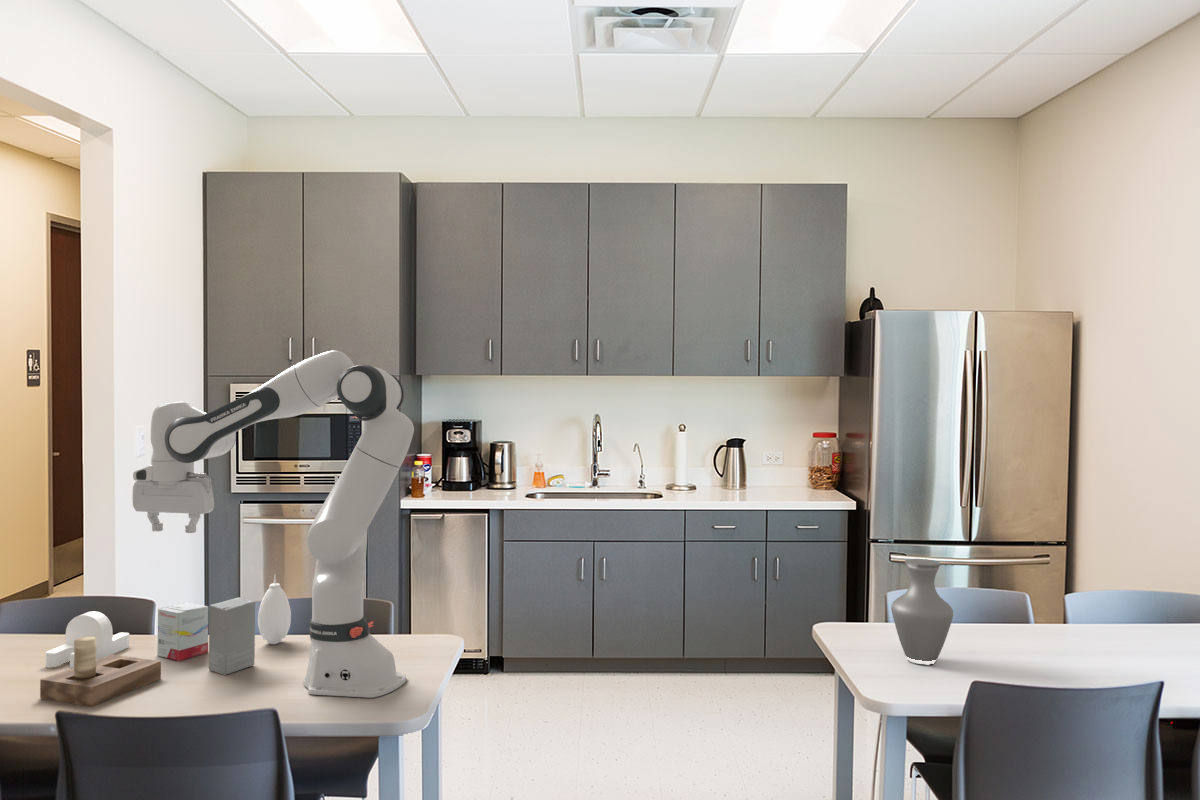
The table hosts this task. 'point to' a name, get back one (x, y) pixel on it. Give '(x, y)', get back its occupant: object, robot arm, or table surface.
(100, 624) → the white slotted holder
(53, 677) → the board
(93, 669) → the dowel
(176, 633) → the ink box
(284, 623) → the white bulb air blower
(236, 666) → the skincare box
